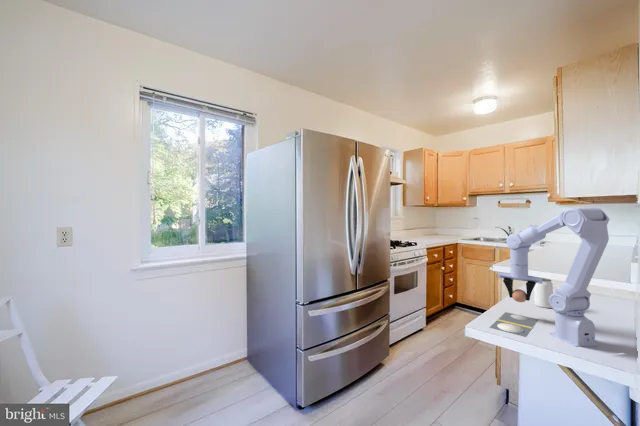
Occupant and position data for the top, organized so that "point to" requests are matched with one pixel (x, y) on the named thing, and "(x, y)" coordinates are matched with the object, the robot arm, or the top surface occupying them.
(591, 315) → the top surface
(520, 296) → the ball
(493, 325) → the mat
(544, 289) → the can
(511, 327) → the white disc
